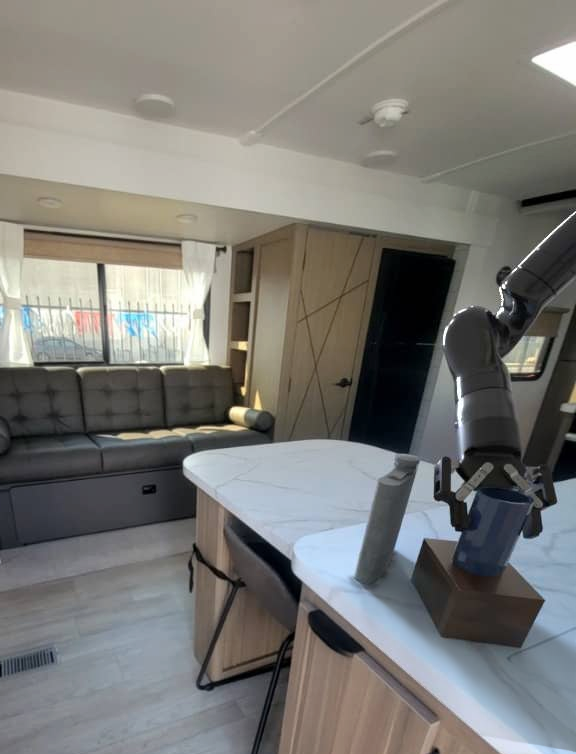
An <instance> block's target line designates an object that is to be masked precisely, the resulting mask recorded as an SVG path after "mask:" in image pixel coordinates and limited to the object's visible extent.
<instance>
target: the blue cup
mask: <svg viewBox="0 0 576 754" xmlns="http://www.w3.org/2000/svg"><path fill="white" fill-rule="evenodd" d="M533 504H534V499H533V498H532V497H530V496H529V495H527V494H525V493H522V492H520V491H518V489H517V490H516V489H514V488H513V489H507V490H502V491H501V490H497V489H490V490H488V489H486V487H484V486H480V487H478V488H477V489H476V492H475V491H474V495H473V498H472V501H471V503H470V506H469V509H468V510H467V511H468V524H469V526H468V529H467V530H465V531H463V532H459V536H458V539H457V541H458V542H457V544H456V547H455V550H454V553H453V556H452V560H453V562H454V563H455V564H456V565H457V566H458V567H460V568H461V569H463V570H465V571H467V572H469V573H472V574H475V575H478V576H483V577H499V576H501V575H502V574H503V572H504V570H505V568H506V566H507V564H508V562H509V563H510V559H511V556H512V554H513V552H514V550H515V548H516V545H517V543H518V541H519V539H520V537H521V534H522V533H523V532H522V529H523V527H524V525H525V523H526V520H527V518H528V516H529V513H530V511H531V509H532V507H533Z"/></svg>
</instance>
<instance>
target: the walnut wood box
mask: <svg viewBox="0 0 576 754" xmlns="http://www.w3.org/2000/svg"><path fill="white" fill-rule="evenodd" d="M457 542H458V540H449V539H437V538H428V537H423V540H422V541H421V546H420V549H419V551H418V555H417V559H416V562H415V564H414V568H413V571H412V574H411V577H410V580H411V582H412V584H413V586H414V588H415V590H416V592H417V594H418V596H419V598H420V600H421V601H422V603H423V605H424V607H425V609H426V611H427V613H428V615H429V616H430V619H431V620H432V622H433V624H434V625H435V628H436V630H437V632H438V633H439V635H440V637H441V638H445V639H454V640H459V641H460V640H461V641H468V642H475V643H484V644H489V645H498V646H503V647H504V646H505V647H511V648H518V649H521V648H522V647H523V646H524V643H525V641H526V639H527V637H528V636H529V633H530V631H531V629H532V628H533V626H534V623H535V621H536V619H537V618H538V616H539V613H540V612H541V610H542V608H543V606H544V604H545V602H546V599H545V598H544V597H543V596H542V595H541V594H540V593H539V592H538V591H537V590H536V589H535V588H534V587H533V586H532V585H531V584H530V583H529V581H528V580H527V579H526V578H524V576H523V575H522V574H521V573H519V571H518V570H517V569H516V568H515V567H514V566H513V565H512V564H511V563H510V561H509V562H508V564H507V566H506V568H505V570H504V572H503V574H502V575H501V576H499V577H483V576H478V575H475V574H472V573H469V572H467V571H465V570H463V569H461V568H460V567H458V566H457V565H456V564H455V563H454V562H453V560H452V556H453V553H454V550H455V547H456V544H457Z"/></svg>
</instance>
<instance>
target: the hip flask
mask: <svg viewBox="0 0 576 754" xmlns="http://www.w3.org/2000/svg"><path fill="white" fill-rule="evenodd" d="M393 461H394V463H393V468H392V470H391V471H389V472H388V473H387V474H385V475H383V476H381V477H379V478H377V480H376V485H375V489H374V492H373V493H374V494H373V497H372V501H371V504H370V508H369V513H368V518H367V522H366V525H365V529H364V533H363V538H362V542H361V547H360V550H359V554H358V558H357V563H356V566H355V570H354V575H353V578H354V579H355V581H358V582H360V583H362V584H368V585H369V584H373V583H374V582H376V581H377V580H378V579H379V578H380V577H382V575H383V574H384V573H385V572H386V570H387V569H388V567H389V566H390V563H391V562H392V558H393V555H394V552H395V548H396V546H397V542H398V538H399V534H400V531H401V528H402V524H403V521H404V517H405V514H406V510H407V506H408V503H409V500H410V497H411V493H412V490H413V486H414V483H415V479H416V475H417V472H418V469H419V464H420V461H421V458H420V457H418V456H416V455H412V454H409V453H397V454H395V455H394V458H393Z"/></svg>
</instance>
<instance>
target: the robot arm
mask: <svg viewBox="0 0 576 754" xmlns="http://www.w3.org/2000/svg"><path fill="white" fill-rule="evenodd" d="M575 279H576V210H575V211H574V212H572V213H571V214H570V215H569V216H568V217H567V218H566V219H564V220H563V221H562V222H560V223H559V225H557V227H555V228H554V229H553V230H551V232H550V233H549V234H547V235H546V236H545V238H543V239H542V240H541V241H540V242H539V243H538V244H537V245H536V246H535V247H534V248H533V249H532V250H531V252H529V253H528V254H527V255H526V256H525V257H524V258H523V259H522V260H521V262H519V263H518V264H517V265H516V267H515V268H513V270H511V272H510V273H508V275H507V276H506V277H505V278H504V280H503V281H502V282H501V284H500V287H499V292H500V295H501V299H502V300H501V301H502V302H501V306H500V307H499V309H498V311H497V312H496V314H495V313H494V312H492V311H491V310H490V309H488V308H487V307H484V306H481V305H471V306H467V307H464V308H462V309H461V310H459V311H458V312H456V313H455V314H454V315H452V317H451V318H450V319H449V320H448V321H447V323H446V325H445V328H444V330H443V334H442V342H441V343H442V349H443V353H444V357H445V360H446V363H447V367H448V371H449V372H450V375H451V378H452V381H453V385H454V390H453V392H454V404H455V411H454V431H455V445H456V447H455V448H456V458H457V460H458V461H456V460H452V458H451V457H449V456H443V457H442V458H441V459H439V461H437V463H435V465H434V467H433V499H434V501H436V502H443V503H445V504H447V506H448V507H449V508H448V509H449V520H450V521H449V522H450V525H451V527H452V528H454V531H455V532H457V533H461V532H463V531H465V530H467V529H468V526H469V524H468V511H469V510H468V502H467V501H465V500H466V499H467V498H468V496H469V495H470V494H471V493H472V492H474V493H475V492H476V489H477V488H478V487H480V486H484V487H486V489H488V490H490V489H497V490H501V491H502V490H507V489H513V490H514V488H515V487H516V489H517V491H520V492H522V493H525V494H527V495H529V496H530V497H532V498H533V499H534V504H533V507H532V509H531V511H530V513H529V516H528V518H527V520H526V523H525V525H524V527H523V529H522V532H521V533H522V538H523V539H526V540H532V539H536V538H538V537H539V536H540V534H541V533H543V531H544V525H543V518H542V517H543V516H542V511H545V510H547V509H548V508H550V507H552V506H555V505H557V504H558V498H557V493H556V489H555V485H554V479H553V476H552V471H551V467H550V465H548V464H546V463H542V464H539V466H526V465H525V464H524V462H523V461H522V454H523V446H522V445H523V444H522V438H521V430H520V429H521V428H520V421H519V414H518V408H517V405H516V402H515V399H514V395H513V394H514V393H513V387H512V386H513V385H512V377H511V373H510V369H509V367H508V366H507V364H506V363H505V361H504V360H503V359H505V358H506V357H507V356H508V355H509V354H510V353H511V352H512V351H513V350H514V349H515V348H516V346H517V345H518V344H519V343H520V342H521V340H522V339H523V337H524V336H525V335H526V334H527V332H528V331H529V329H530V327H532V326H533V324H534V323H535V321H536V320H537V319H538V317H539V315H540V314H541V313H542V311H543V309H544V308H545V307H546V305H548V304H549V303H550V302H551V301H552V300H554V299H555V297H557V296H558V295H559V294H560V293H562V292H563V290H564V289H566V288H567V287H568V286H569V285H570V284H571V283H572V282H573V281H574V280H575ZM455 472H456V473H457V475H458V476H459V477H460V478H461V479H462V480H463V482H462V483H461V484H460V486H459V487H458V488H457V489H456V490H455V491H453V490H452V475H453V474H454V473H455ZM524 477H525V478H526V479H524Z"/></svg>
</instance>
